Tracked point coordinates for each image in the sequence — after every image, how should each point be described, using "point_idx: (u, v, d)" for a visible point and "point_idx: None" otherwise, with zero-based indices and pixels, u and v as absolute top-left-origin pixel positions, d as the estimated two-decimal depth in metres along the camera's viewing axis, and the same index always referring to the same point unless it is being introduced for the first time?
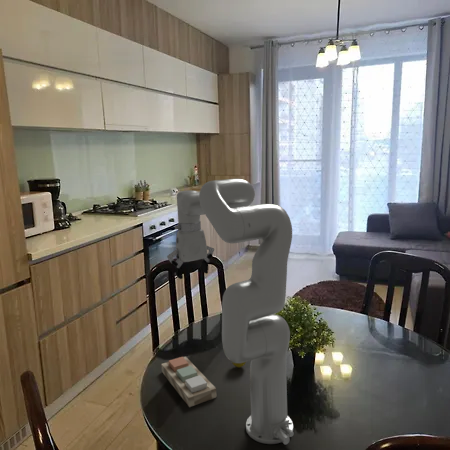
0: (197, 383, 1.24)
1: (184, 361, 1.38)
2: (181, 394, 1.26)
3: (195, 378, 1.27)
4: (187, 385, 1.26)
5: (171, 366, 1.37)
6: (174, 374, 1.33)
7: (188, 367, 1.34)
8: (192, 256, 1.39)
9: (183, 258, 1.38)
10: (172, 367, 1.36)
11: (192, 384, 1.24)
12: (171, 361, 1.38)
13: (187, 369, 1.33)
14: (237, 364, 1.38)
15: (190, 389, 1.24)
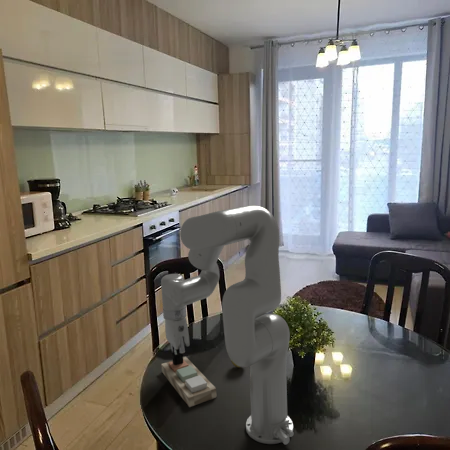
0: (197, 383, 1.24)
1: (184, 363, 1.38)
2: (181, 394, 1.26)
3: (195, 378, 1.27)
4: (187, 385, 1.26)
5: (171, 368, 1.37)
6: (174, 374, 1.33)
7: (188, 367, 1.34)
8: None
9: None
10: (172, 369, 1.36)
11: (192, 384, 1.24)
12: (171, 363, 1.38)
13: (187, 369, 1.33)
14: None
15: (190, 389, 1.24)
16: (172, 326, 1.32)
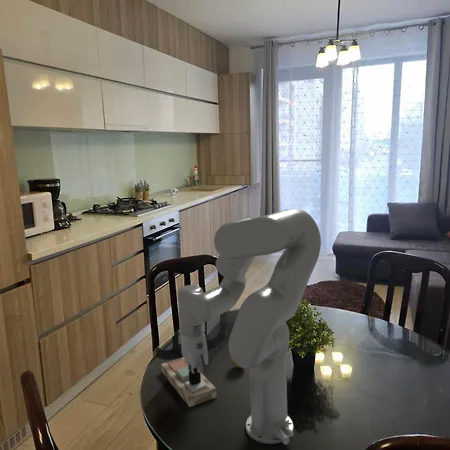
0: (197, 385, 1.25)
1: (184, 365, 1.38)
2: (181, 394, 1.26)
3: None
4: (187, 387, 1.26)
5: None
6: (174, 374, 1.33)
7: None
8: None
9: None
10: None
11: (192, 386, 1.24)
12: (171, 365, 1.39)
13: (187, 369, 1.33)
14: None
15: (190, 391, 1.24)
16: (190, 343, 1.20)
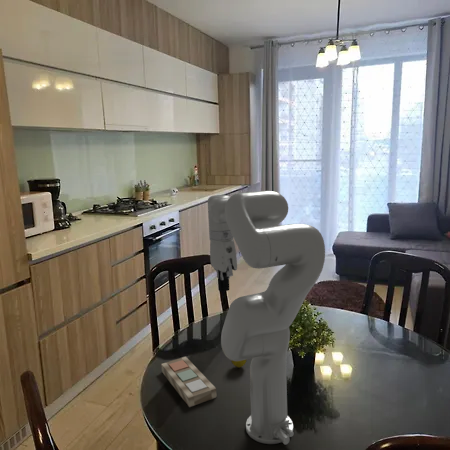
0: (197, 387, 1.25)
1: (184, 365, 1.38)
2: (181, 394, 1.26)
3: (195, 382, 1.28)
4: None
5: None
6: (174, 374, 1.33)
7: (188, 371, 1.34)
8: None
9: None
10: None
11: (192, 388, 1.24)
12: (171, 365, 1.39)
13: (187, 373, 1.33)
14: (237, 364, 1.38)
15: None
16: (220, 248, 1.26)
